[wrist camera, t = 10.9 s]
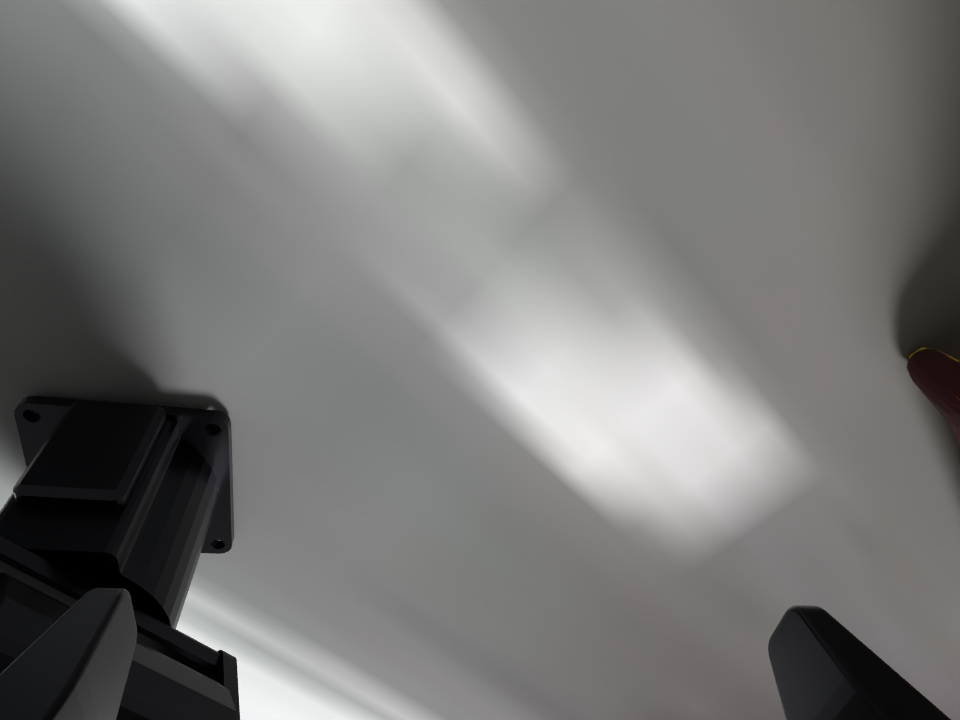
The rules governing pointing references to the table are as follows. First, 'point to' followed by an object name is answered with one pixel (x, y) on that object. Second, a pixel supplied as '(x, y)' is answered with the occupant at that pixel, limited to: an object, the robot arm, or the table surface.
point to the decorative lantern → (938, 382)
